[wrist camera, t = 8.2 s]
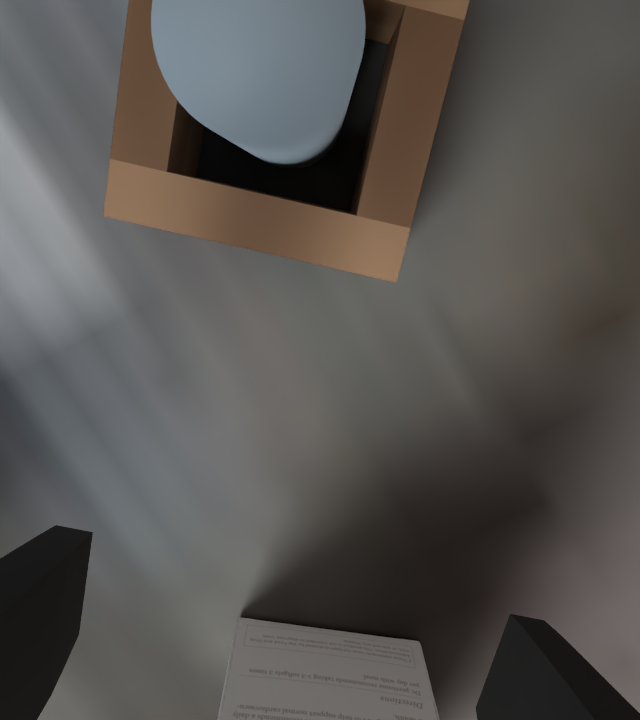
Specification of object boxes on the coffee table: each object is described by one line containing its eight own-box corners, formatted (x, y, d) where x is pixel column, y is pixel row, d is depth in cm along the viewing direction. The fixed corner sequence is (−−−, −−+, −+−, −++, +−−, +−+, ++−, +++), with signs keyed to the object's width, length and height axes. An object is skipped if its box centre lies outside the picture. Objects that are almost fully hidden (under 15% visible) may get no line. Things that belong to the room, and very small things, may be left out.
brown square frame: (144, 212, 18) (102, 216, 15) (183, -65, 16) (145, -137, 13) (382, 266, 19) (396, 282, 15) (448, 2, 17) (482, -49, 13)
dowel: (226, 154, 18) (135, 114, 9) (248, 40, 17) (170, -124, 8) (329, 180, 18) (336, 166, 9) (356, 68, 17) (390, -61, 8)
